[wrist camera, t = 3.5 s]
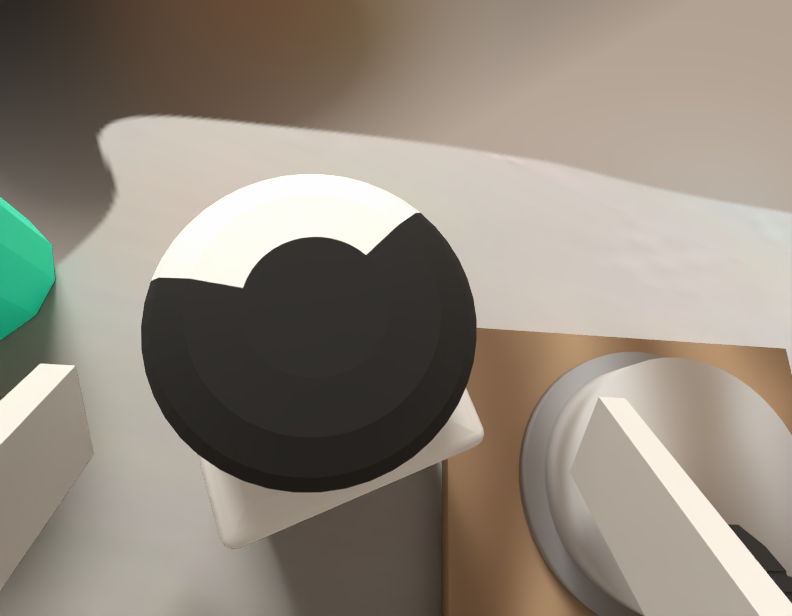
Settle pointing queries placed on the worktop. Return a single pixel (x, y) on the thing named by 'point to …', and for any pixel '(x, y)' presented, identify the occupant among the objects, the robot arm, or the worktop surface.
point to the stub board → (490, 464)
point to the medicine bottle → (310, 348)
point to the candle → (22, 269)
